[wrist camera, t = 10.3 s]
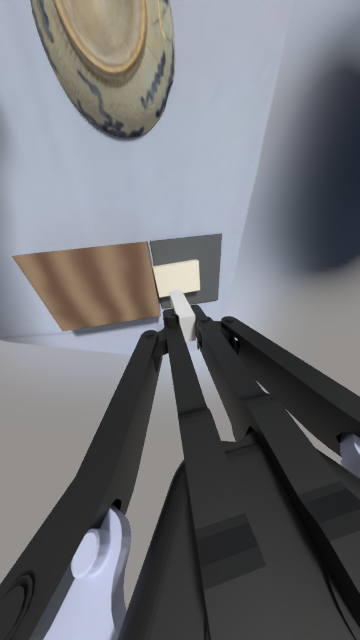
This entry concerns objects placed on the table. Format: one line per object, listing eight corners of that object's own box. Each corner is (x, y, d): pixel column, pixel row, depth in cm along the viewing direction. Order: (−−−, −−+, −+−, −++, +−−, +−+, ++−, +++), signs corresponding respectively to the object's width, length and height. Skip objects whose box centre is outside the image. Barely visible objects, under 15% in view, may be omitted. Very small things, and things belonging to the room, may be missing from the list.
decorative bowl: (179, 140, 20) (167, -117, 12) (184, 122, 17) (171, -237, 9) (73, 142, 19) (-19, -146, 11) (57, 124, 16) (-89, -299, 8)
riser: (72, 321, 31) (62, 331, 28) (32, 253, 24) (11, 256, 20) (159, 307, 33) (160, 315, 30) (147, 241, 26) (146, 241, 22)
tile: (159, 294, 31) (159, 297, 29) (152, 266, 28) (152, 268, 26) (197, 287, 31) (200, 290, 30) (196, 259, 28) (198, 260, 27)
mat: (161, 307, 33) (162, 308, 33) (150, 241, 26) (150, 241, 25) (217, 299, 34) (217, 299, 34) (221, 233, 27) (221, 233, 27)
